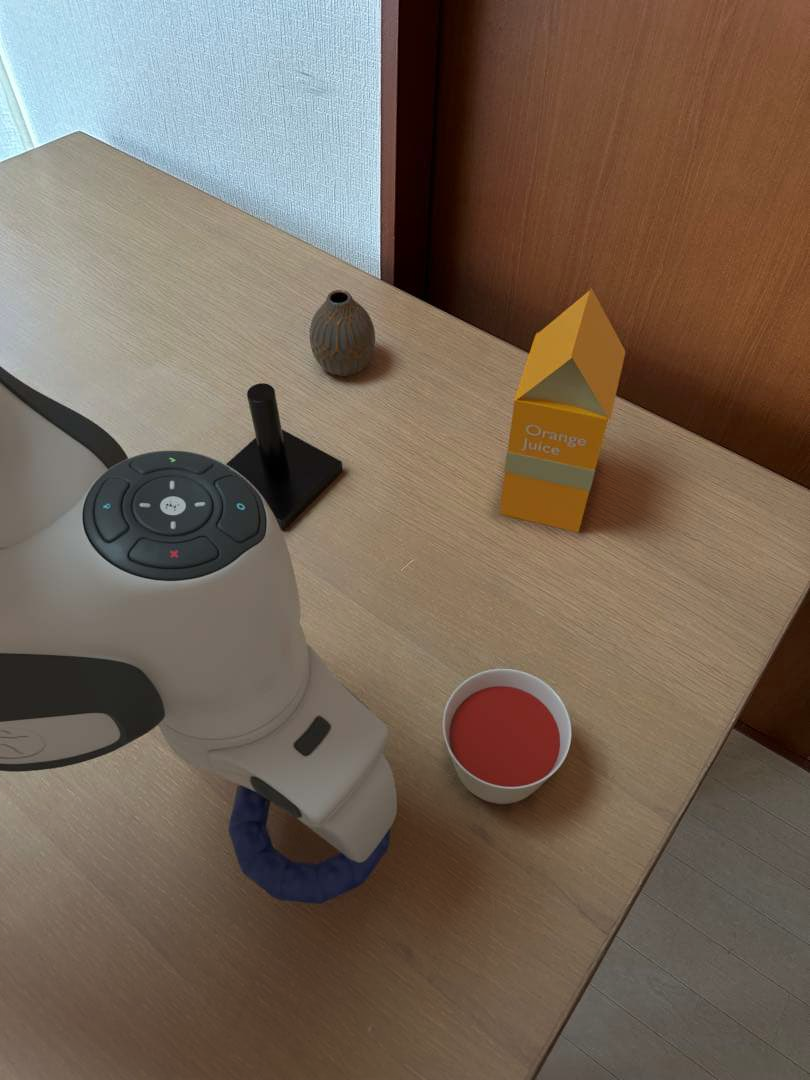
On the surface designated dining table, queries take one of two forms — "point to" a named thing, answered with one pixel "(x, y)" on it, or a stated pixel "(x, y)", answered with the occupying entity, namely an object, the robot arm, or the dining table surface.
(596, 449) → the orange juice
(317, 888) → the ring
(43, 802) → the dining table surface
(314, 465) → the black post stand
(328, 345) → the vase
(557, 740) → the candle
